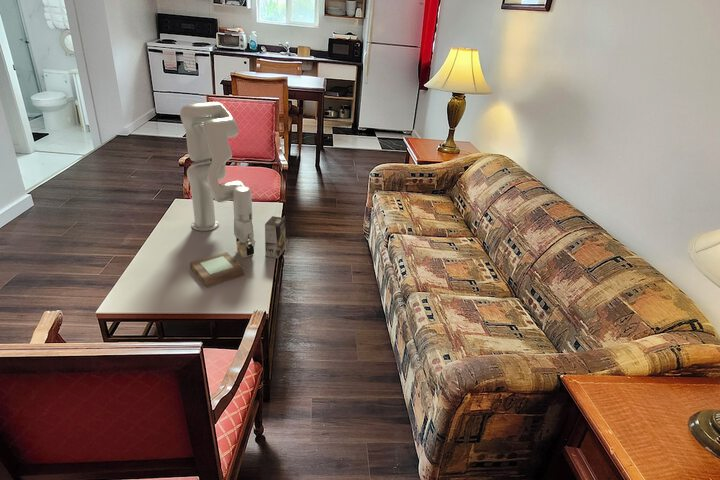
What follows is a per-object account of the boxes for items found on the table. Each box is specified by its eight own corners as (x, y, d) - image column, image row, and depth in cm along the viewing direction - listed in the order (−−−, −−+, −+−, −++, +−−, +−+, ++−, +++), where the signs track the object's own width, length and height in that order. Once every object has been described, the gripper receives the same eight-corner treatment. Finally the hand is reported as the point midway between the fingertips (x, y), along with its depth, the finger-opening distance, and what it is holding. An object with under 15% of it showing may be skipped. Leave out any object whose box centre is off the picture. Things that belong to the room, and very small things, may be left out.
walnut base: (190, 268, 178) (189, 261, 176) (227, 257, 187) (226, 251, 186) (206, 287, 167) (205, 280, 166) (244, 275, 177) (243, 268, 175)
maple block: (237, 253, 191) (236, 241, 188) (247, 250, 194) (247, 238, 191) (242, 258, 188) (241, 246, 185) (252, 254, 191) (252, 243, 188)
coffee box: (278, 258, 190) (278, 226, 182) (264, 256, 191) (264, 224, 183) (285, 248, 198) (285, 217, 190) (272, 246, 199) (272, 215, 191)
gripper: (226, 209, 185) (228, 244, 193) (244, 225, 174) (246, 261, 182) (242, 206, 190) (244, 239, 198) (261, 221, 178) (262, 256, 187)
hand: (245, 249), depth 190 cm, fingers open, 9 cm apart
